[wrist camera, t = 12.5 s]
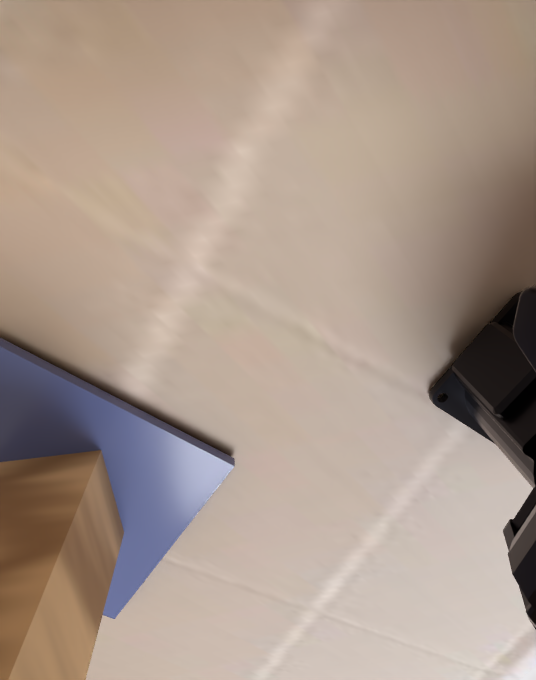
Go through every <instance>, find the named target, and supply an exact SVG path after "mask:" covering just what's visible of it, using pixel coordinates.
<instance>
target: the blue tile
mask: <svg viewBox="0 0 536 680" xmlns="http://www.w3.org/2000/svg"><path fill="white" fill-rule="evenodd" d="M98 450H101V451H102V454H103V458H104V462H105V465H106V469H107V472H108V476H109V480H110V483H111V487H112V490H113V494H114V498H115V501H116V505H117V508H118V512H119V516H120V519H121V523H122V526H123V530H124V535H123V539H122V543H121V546H120V550H119V554H118V558H117V562H116V565H115V569H114V573H113V577H112V580H111V584H110V588H109V592H108V596H107V599H106V603H105V607H104V611H103V615H105V616H107V617H110V618H113V619H115V618H116V616H117V615H118V614H119V613H120V611H121V610H122V609H123V608H124V606H125V605H126V604H127V602H128V601H129V600H130V599H131V597H132V596H133V595H134V594H135V592H136V591H137V590H138V588H139V587H140V586H141V585H142V583H143V582H144V581H145V580H146V578H147V577H148V576H149V574H150V573H151V572H152V571H153V569H154V568H155V567H156V565H157V564H158V563H159V562H160V560H161V559H162V558H163V557H164V555H165V554H166V553H167V551H168V550H169V549H170V548H171V546H172V545H173V544H174V543H175V541H176V540H177V539H178V537H179V536H180V535H181V534H182V532H183V531H184V530H185V529H186V527H187V526H188V525H189V523H190V522H191V521H192V520H193V518H194V517H195V516H196V515H197V513H198V512H199V511H200V509H201V508H202V507H203V506H204V504H205V503H206V502H207V501H208V499H209V498H210V497H211V495H212V494H213V493H214V492H215V490H216V489H217V488H218V487H219V485H220V484H221V483H222V481H223V480H224V479H225V478H226V476H227V475H228V474H229V473H230V471H231V470H232V469H233V467H234V458H232V457H231V456H229V455H227V454H225V453H223V452H221V451H219V450H217V449H215V448H213V447H211V446H209V445H207V444H205V443H203V442H201V441H200V440H198V439H196V438H194V437H192V436H190V435H188V434H186V433H184V432H182V431H180V430H178V429H176V428H174V427H172V426H170V425H169V424H167V423H165V422H163V421H161V420H159V419H157V418H155V417H153V416H151V415H149V414H147V413H145V412H143V411H141V410H139V409H138V408H136V407H134V406H132V405H130V404H128V403H126V402H124V401H122V400H120V399H118V398H116V397H114V396H112V395H110V394H108V393H107V392H105V391H103V390H101V389H99V388H97V387H95V386H93V385H91V384H89V383H87V382H85V381H83V380H81V379H79V378H77V377H76V376H74V375H72V374H70V373H68V372H66V371H64V370H62V369H60V368H58V367H56V366H54V365H52V364H50V363H48V362H47V361H45V360H43V359H41V358H39V357H37V356H35V355H33V354H31V353H29V352H27V351H25V350H23V349H21V348H19V347H17V346H16V345H14V344H12V343H10V342H8V341H6V340H4V339H2V338H0V462H7V461H15V460H23V459H32V458H40V457H48V456H57V455H65V454H73V453H81V452H90V451H98Z"/></svg>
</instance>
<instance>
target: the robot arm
mask: <svg viewBox="0 0 536 680" xmlns="http://www.w3.org/2000/svg"><path fill="white" fill-rule="evenodd" d="M441 393H444V396H443V397H441V398H437V397H438V395H440V394H441ZM429 397H430V400H431V401H432V402H433V404H434V405H435V406H437V407H438V408H440V409H442V410H443V411H445V412H446V413H448V414H449V415H451V416H453V417H454V418H456V419H457V420H459V421H460V422H462V423H463V424H465V425H467V426H468V427H470V428H471V429H473V430H474V431H476V432H478V433H479V434H481V435H482V436H484V437H485V438H487V439H488V440H490V441H492V442H493V443H495V444H496V445H497V446H498V447H499V449H500V450H501V451H502V452H503V453H504V454H505V456H506V457H507V458H508V459H509V460H510V461H511V463H512V464H513V465H514V466H515V467H516V468H517V470H518V471H519V472H520V473H521V474H522V475H523V477H524V478H525V479H526V480H527V481H528V482H529V484H530V485H531V486H532V487H533V488H534V489H533V490H532V492H531V493H530V495H529V496H528V498H527V499H526V501H525V502H524V504H523V506H522V507H521V509H520V510H519V512H518V513H517V515H516V516H515V518H514V519H510V520H509V522H508V523H507V525H506V526H505V528H504V529H503V533H504V536H505V540H506V543H507V546H508V550H509V552H508V557H509V561H510V565H511V569H512V574H513V576H514V577H515V579H516V581H517V583H518V585H519V588H520V591H521V594H522V598H523V601H524V605H525V608H526V613H527V615H528V617H529V620H530V622H531V623H532V624H533V626H534V627H535V629H536V285H535V286H531V287H528V288H526V289H524V290H523V291H522V292H519V293H517V294H516V295H515V296H514V297H513V298H512V299H511V300H510V301H509V303H508V304H507V305H506V306H505V307H504V308H503V309H502V310H501V312H500V313H499V314H498V315H497V316H496V317H495V318H494V319H493V320H492V322H491V323H490V324H488V325H487V326H486V327H485V328H484V329H483V330H482V331H481V333H480V334H479V335H478V336H477V337H476V338H475V339H474V340H473V342H472V343H471V344H470V345H469V346H468V347H467V348H466V349H465V350H464V352H463V353H462V354H461V355H460V356H459V357H458V358H457V359H456V361H455V362H454V363H453V365H452V366H451V368H450V369H449V370H448V371H447V372H446V373H445V374H444V375H443V376H442V378H441V379H440V380H439V381H438V382H437V383H436V384H435V385H434V387H433V388H432V389H431V390H430V392H429Z"/></svg>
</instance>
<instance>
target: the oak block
mask: <svg viewBox="0 0 536 680" xmlns="http://www.w3.org/2000/svg"><path fill="white" fill-rule="evenodd" d="M123 535H124V530H123V526H122V523H121V519H120V516H119V512H118V508H117V505H116V501H115V498H114V494H113V490H112V487H111V483H110V480H109V476H108V472H107V469H106V465H105V462H104V458H103V454H102V451H101V450H98V451H90V452H81V453H73V454H65V455H57V456H48V457H40V458H32V459H23V460H15V461H7V462H0V680H85V679H86V675H87V671H88V668H89V664H90V660H91V656H92V652H93V649H94V645H95V641H96V637H97V633H98V630H99V626H100V622H101V618H102V615H103V611H104V607H105V603H106V599H107V596H108V592H109V588H110V584H111V580H112V577H113V573H114V569H115V565H116V562H117V558H118V554H119V550H120V546H121V543H122V539H123Z"/></svg>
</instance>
